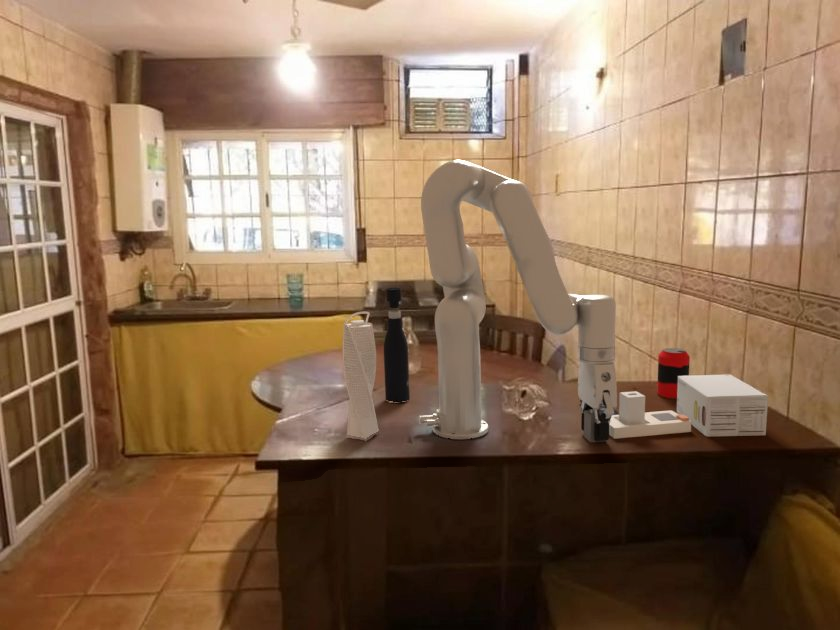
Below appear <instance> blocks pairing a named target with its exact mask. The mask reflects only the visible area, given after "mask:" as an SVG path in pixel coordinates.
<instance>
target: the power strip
mask: <svg viewBox="0 0 840 630" xmlns="http://www.w3.org/2000/svg"><path fill="white" fill-rule="evenodd" d="M690 432H691V433H692V424H691V421H690V420H689V418H688V417H686V416H685V415H680V414H678V413H677V412H676V411H674V410H661V411H660V410H659V411H649V412H646V411H645V423H644V424H636V425H624V424H622V423H621V422H620V421H619V415H612V417H611V419H610V423H609V437H611V438H612V439H614V440H615V439H626V438H637V437H647V436H649V437H650V436H658V435H659V436H660V435H669V434H681V433H690Z"/></svg>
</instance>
